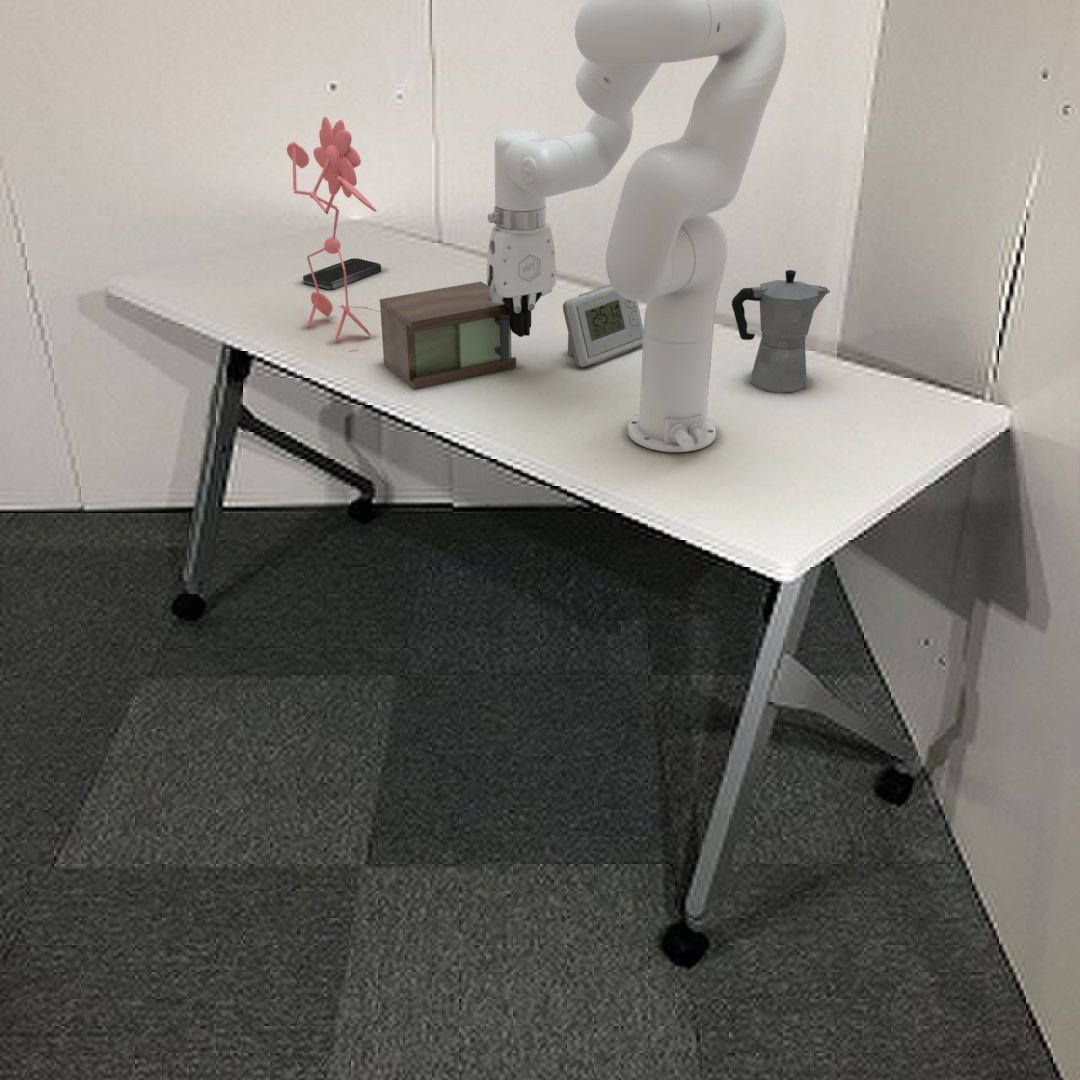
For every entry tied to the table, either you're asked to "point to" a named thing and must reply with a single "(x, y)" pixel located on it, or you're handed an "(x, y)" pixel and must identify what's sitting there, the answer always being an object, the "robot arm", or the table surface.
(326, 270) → the phone
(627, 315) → the digital clock
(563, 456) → the table surface
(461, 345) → the sliding door
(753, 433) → the table surface
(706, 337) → the robot arm
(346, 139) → the figurine
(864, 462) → the table surface
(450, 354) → the cabinet
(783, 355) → the coffeepot
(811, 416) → the table surface
